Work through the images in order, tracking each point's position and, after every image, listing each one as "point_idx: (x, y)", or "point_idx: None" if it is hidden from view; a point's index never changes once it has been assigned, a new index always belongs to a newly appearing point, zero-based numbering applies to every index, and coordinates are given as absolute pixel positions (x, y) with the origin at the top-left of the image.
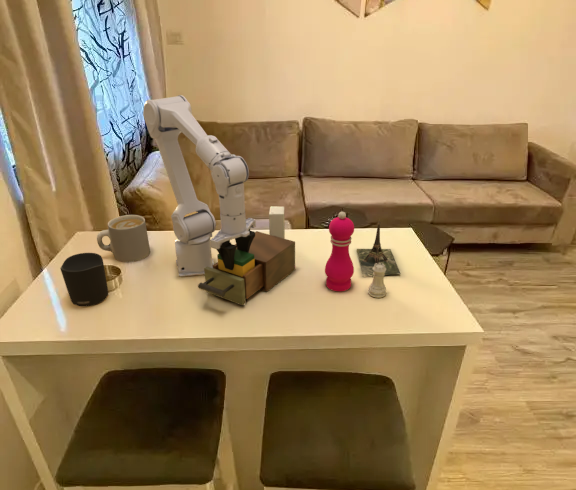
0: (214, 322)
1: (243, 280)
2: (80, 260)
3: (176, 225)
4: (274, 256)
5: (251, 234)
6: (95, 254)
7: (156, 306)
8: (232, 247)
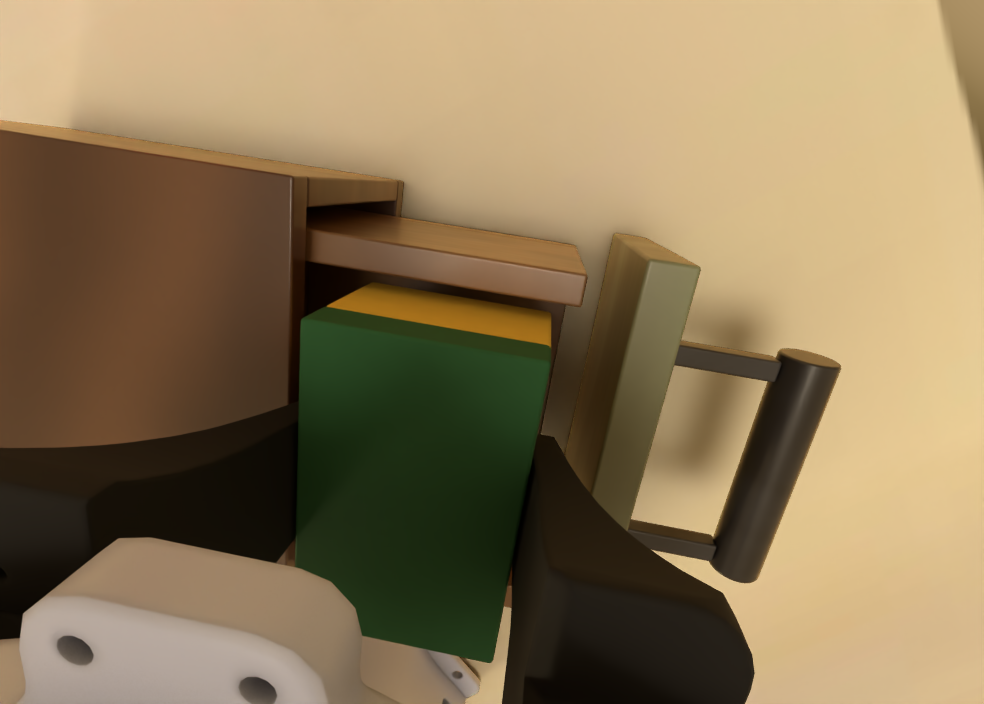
0: (845, 326)
1: (661, 258)
2: None
3: None
4: (131, 148)
5: (23, 513)
6: None
7: (769, 661)
8: (685, 622)
